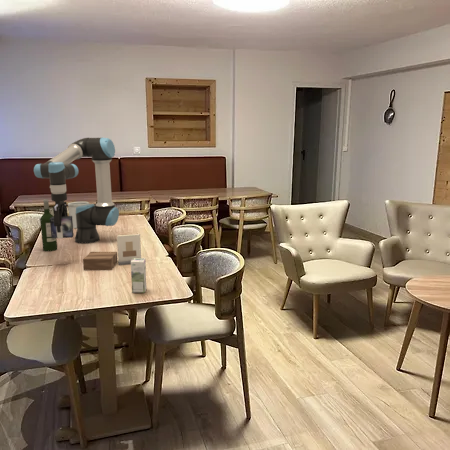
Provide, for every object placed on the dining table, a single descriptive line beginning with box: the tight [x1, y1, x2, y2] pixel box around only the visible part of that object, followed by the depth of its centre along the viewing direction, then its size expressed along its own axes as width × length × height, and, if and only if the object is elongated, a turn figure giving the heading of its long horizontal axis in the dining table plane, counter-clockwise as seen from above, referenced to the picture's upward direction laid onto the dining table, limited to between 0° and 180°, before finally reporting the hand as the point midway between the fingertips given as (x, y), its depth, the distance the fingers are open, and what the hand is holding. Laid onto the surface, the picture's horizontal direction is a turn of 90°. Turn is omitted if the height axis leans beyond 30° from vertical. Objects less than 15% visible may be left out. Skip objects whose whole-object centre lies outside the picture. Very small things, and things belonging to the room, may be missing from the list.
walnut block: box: [82, 251, 118, 271], centre depth 229 cm, size 14×14×6 cm
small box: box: [50, 215, 75, 239], centre depth 228 cm, size 11×6×10 cm, turn 103°
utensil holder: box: [67, 201, 90, 229], centre depth 320 cm, size 15×15×18 cm
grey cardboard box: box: [116, 233, 142, 266], centre depth 234 cm, size 6×12×15 cm, turn 107°
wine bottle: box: [39, 198, 58, 252], centre depth 257 cm, size 8×8×30 cm
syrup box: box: [130, 257, 148, 294], centre depth 193 cm, size 6×6×14 cm
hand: (62, 236), depth 229 cm, fingers closed on small box, 7 cm apart
